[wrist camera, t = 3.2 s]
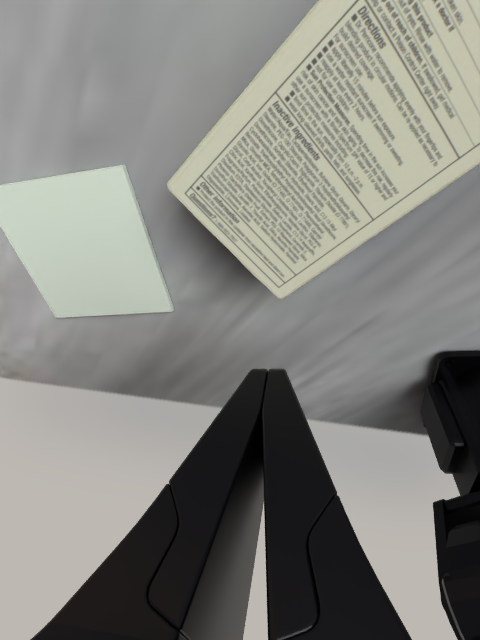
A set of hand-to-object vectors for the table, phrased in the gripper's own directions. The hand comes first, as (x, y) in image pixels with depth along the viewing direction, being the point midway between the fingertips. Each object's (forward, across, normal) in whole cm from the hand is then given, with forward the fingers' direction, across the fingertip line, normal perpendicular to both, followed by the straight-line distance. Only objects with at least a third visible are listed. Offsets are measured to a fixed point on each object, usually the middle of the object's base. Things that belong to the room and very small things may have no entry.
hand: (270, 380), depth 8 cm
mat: (+10, +11, 0) cm, 15 cm away
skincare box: (+7, +2, -1) cm, 8 cm away
